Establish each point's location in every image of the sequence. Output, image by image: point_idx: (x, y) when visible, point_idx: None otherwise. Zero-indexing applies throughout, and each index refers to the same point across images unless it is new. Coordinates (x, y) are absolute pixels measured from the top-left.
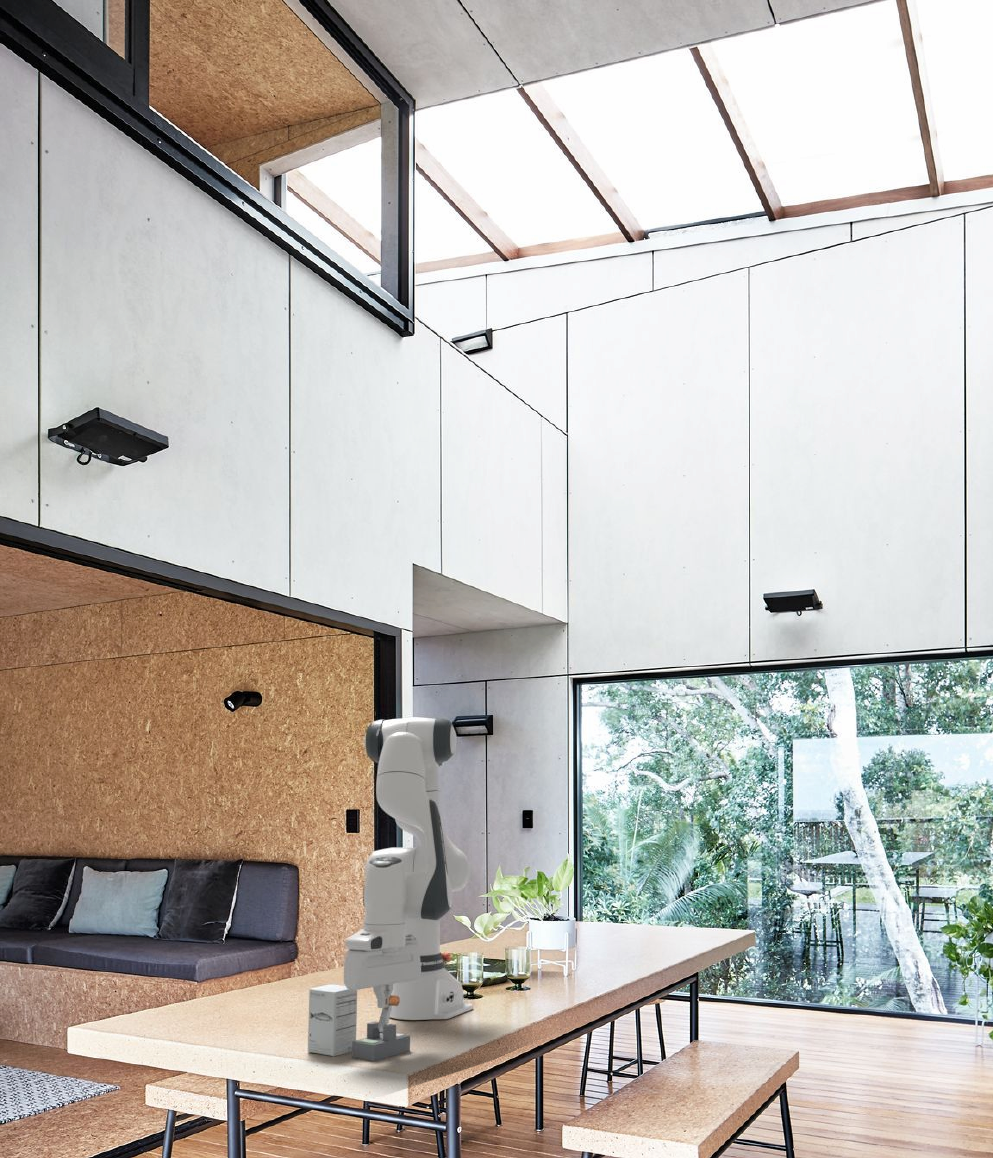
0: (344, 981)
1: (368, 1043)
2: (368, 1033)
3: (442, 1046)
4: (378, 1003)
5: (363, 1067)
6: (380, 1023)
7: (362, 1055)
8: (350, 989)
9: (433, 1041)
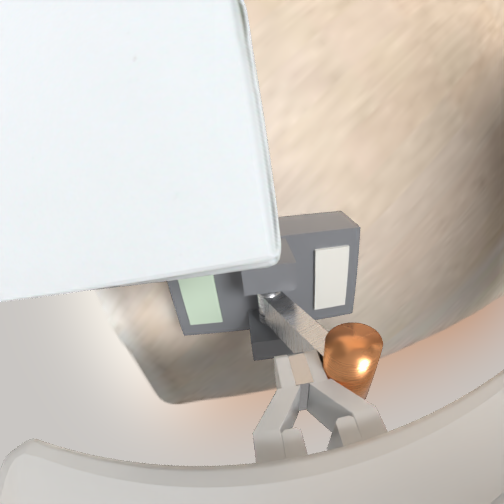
0: (9, 462)
1: (184, 308)
2: None
3: (406, 303)
4: (277, 372)
5: (135, 329)
6: (271, 314)
7: None
8: (148, 281)
9: (439, 253)
